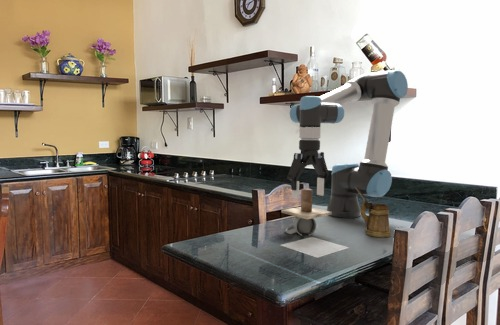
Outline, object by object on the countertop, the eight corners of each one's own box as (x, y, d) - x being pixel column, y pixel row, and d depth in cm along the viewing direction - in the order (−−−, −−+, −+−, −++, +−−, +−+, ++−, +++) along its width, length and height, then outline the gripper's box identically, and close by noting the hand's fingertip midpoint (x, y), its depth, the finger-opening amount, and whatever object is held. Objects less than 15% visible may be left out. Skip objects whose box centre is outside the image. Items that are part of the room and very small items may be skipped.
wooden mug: (351, 230, 155) (353, 184, 153) (388, 231, 153) (390, 185, 151) (354, 236, 146) (356, 187, 144) (393, 238, 144) (395, 188, 142)
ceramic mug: (310, 230, 153) (311, 210, 152) (316, 236, 145) (316, 215, 144) (283, 231, 152) (283, 211, 151) (287, 237, 144) (287, 216, 143)
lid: (305, 208, 157) (306, 185, 156) (331, 214, 147) (332, 190, 146) (281, 212, 149) (281, 188, 148) (307, 219, 139) (307, 193, 138)
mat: (312, 238, 143) (312, 236, 143) (349, 249, 131) (349, 247, 131) (279, 246, 132) (279, 245, 132) (317, 259, 120) (317, 257, 120)
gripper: (323, 138, 156) (322, 192, 158) (277, 139, 140) (276, 199, 142) (339, 139, 150) (337, 194, 152) (293, 140, 134) (291, 202, 136)
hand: (308, 197), depth 147 cm, fingers open, 13 cm apart
